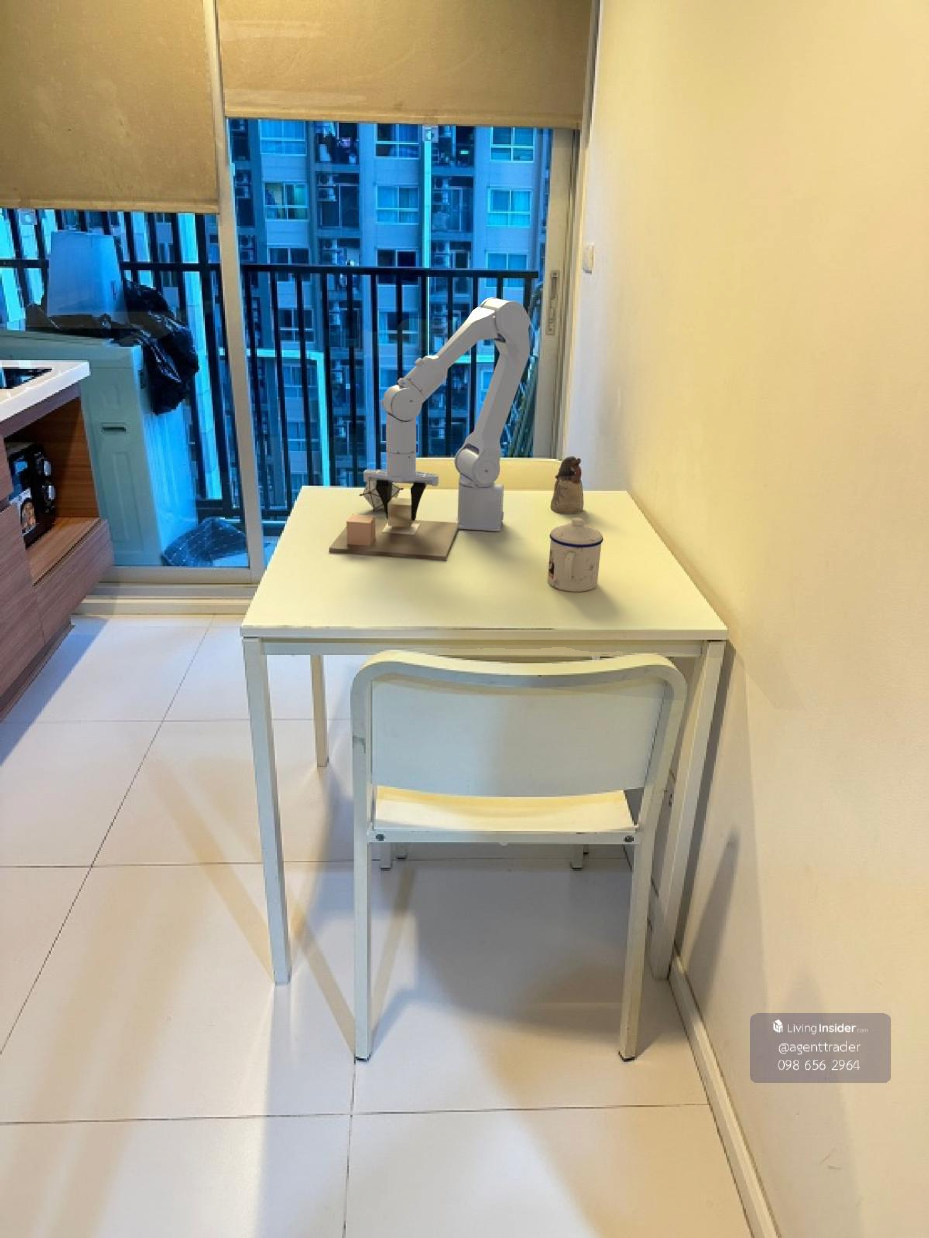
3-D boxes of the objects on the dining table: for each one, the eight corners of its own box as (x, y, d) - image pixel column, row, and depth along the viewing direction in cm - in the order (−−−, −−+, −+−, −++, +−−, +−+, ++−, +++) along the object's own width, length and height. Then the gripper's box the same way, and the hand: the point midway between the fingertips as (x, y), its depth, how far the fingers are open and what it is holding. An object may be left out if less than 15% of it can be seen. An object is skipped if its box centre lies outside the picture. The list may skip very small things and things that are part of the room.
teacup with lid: (551, 570, 150) (556, 508, 145) (601, 577, 148) (608, 514, 143) (538, 595, 139) (542, 529, 134) (591, 602, 137) (598, 536, 132)
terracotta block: (375, 538, 161) (375, 515, 159) (370, 545, 156) (370, 523, 155) (352, 536, 161) (352, 514, 159) (347, 544, 157) (346, 521, 155)
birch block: (414, 520, 168) (414, 498, 166) (410, 527, 163) (410, 505, 162) (392, 519, 168) (392, 497, 166) (387, 525, 164) (387, 503, 162)
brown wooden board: (459, 526, 171) (459, 522, 171) (445, 560, 153) (445, 555, 153) (354, 519, 173) (354, 515, 173) (329, 552, 155) (328, 547, 155)
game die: (388, 528, 180) (400, 500, 172) (351, 513, 179) (361, 484, 171) (399, 498, 185) (411, 470, 177) (363, 484, 184) (373, 454, 176)
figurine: (569, 503, 189) (574, 451, 184) (589, 511, 183) (594, 458, 178) (544, 507, 185) (548, 454, 180) (563, 516, 180) (568, 461, 175)
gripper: (359, 453, 157) (360, 522, 162) (435, 457, 155) (434, 527, 161) (367, 445, 163) (368, 511, 169) (440, 449, 162) (439, 516, 167)
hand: (401, 518), depth 165 cm, fingers closed on birch block, 4 cm apart
